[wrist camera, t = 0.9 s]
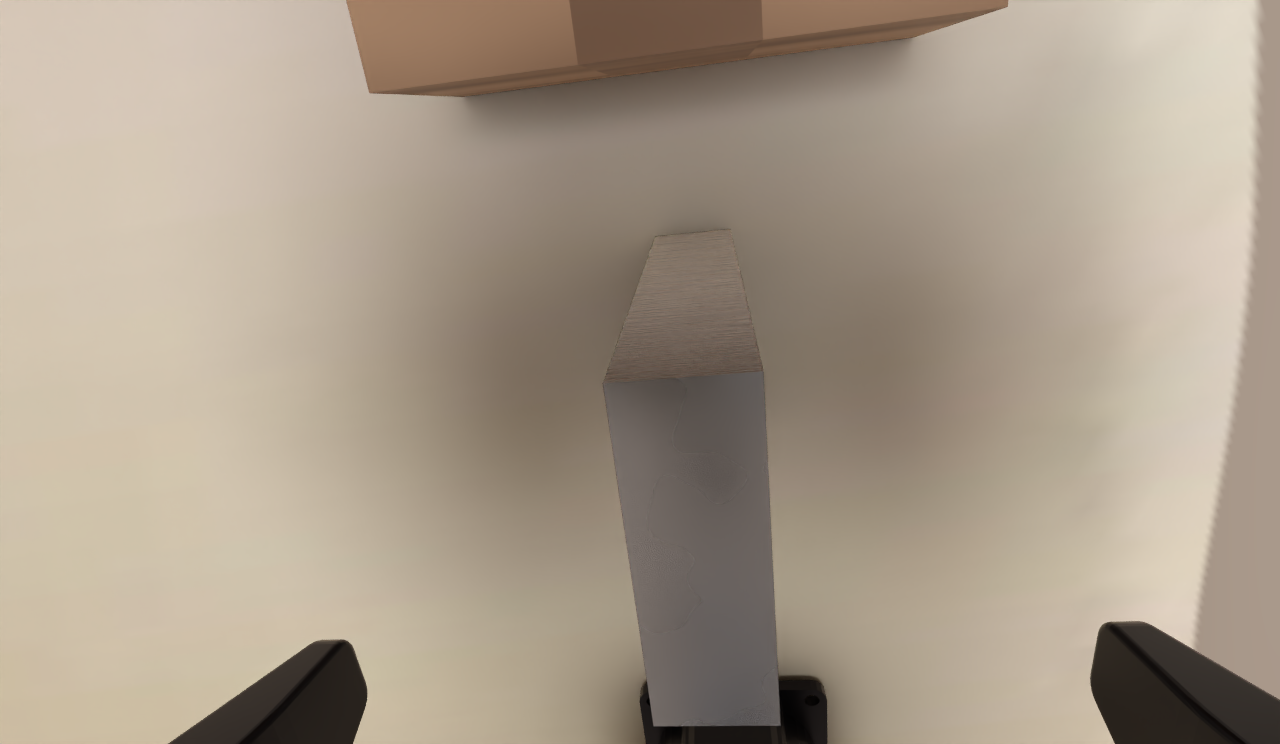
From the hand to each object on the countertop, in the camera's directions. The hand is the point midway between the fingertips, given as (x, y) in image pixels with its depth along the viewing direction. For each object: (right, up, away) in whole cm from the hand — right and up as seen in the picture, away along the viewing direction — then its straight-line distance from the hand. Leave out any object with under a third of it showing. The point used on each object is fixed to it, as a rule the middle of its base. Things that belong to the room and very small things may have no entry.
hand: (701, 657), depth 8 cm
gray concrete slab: (+1, +4, +10) cm, 11 cm away
